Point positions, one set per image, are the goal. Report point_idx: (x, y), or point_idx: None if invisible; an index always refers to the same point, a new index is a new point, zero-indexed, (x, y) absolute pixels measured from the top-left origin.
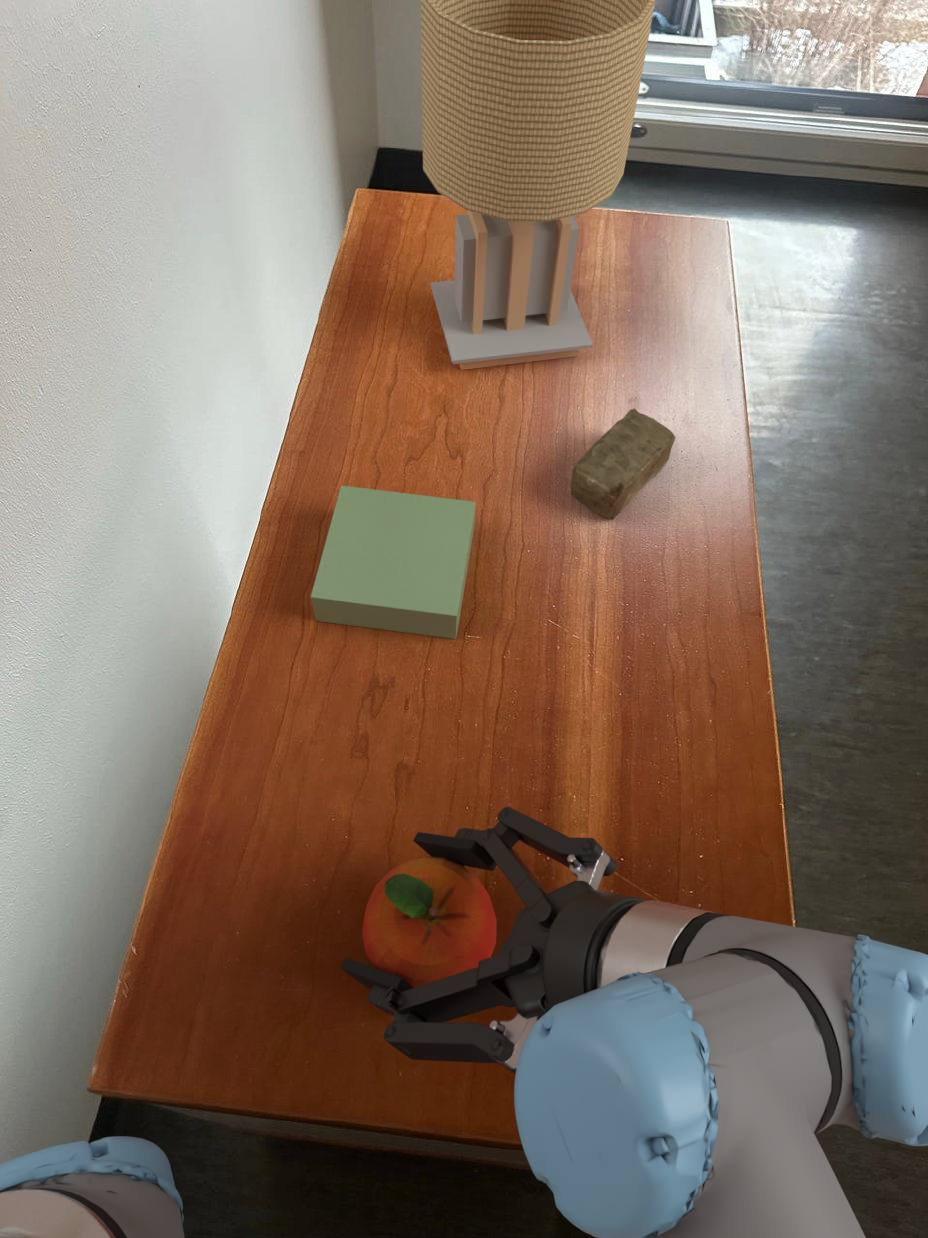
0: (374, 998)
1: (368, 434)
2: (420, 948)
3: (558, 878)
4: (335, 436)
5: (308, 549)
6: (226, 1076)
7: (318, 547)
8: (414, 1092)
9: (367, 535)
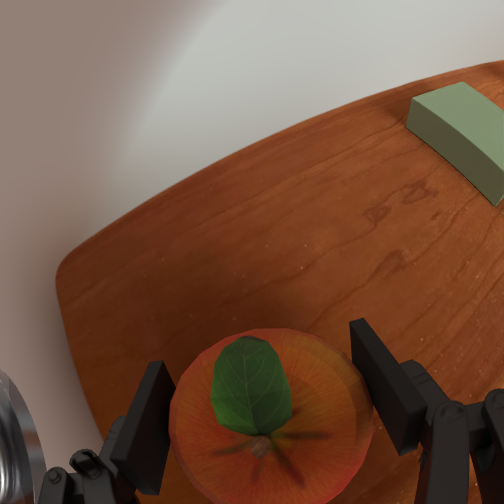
0: (116, 427)
1: (483, 95)
2: (202, 454)
3: None
4: None
5: None
6: (78, 333)
7: None
8: None
9: (468, 103)
